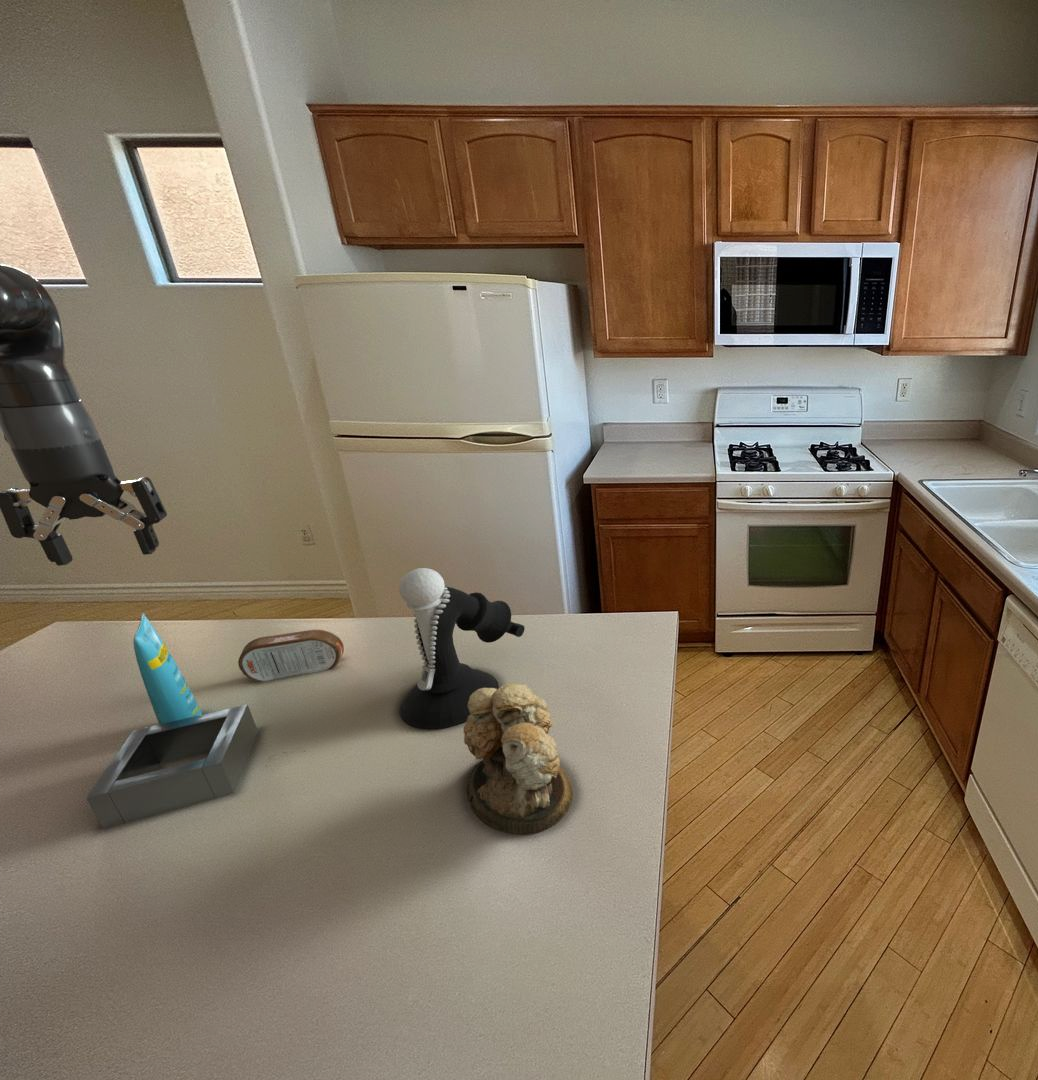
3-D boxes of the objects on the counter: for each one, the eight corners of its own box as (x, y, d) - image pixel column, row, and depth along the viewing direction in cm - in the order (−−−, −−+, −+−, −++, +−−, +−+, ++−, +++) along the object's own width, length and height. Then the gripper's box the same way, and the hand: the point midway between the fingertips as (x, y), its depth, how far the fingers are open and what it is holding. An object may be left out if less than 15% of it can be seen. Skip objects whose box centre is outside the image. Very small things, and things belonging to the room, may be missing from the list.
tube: (207, 734, 85) (159, 628, 78) (164, 750, 82) (110, 640, 75) (205, 710, 90) (160, 608, 83) (165, 724, 87) (114, 619, 80)
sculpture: (381, 712, 90) (342, 575, 81) (498, 643, 109) (478, 526, 100) (440, 746, 84) (406, 601, 74) (554, 666, 103) (539, 543, 93)
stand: (105, 833, 69) (85, 798, 67) (149, 762, 80) (132, 730, 78) (235, 797, 75) (220, 763, 72) (260, 735, 85) (247, 704, 83)
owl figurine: (440, 790, 76) (416, 689, 69) (513, 740, 85) (497, 646, 78) (523, 859, 67) (504, 750, 60) (595, 794, 76) (585, 693, 69)
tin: (349, 662, 103) (337, 623, 100) (345, 671, 100) (333, 632, 97) (251, 679, 98) (235, 639, 95) (244, 690, 95) (228, 649, 92)
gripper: (144, 430, 75) (186, 540, 81) (-7, 438, 69) (51, 556, 75) (118, 441, 69) (166, 559, 75) (-50, 451, 63) (17, 578, 69)
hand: (108, 557), depth 75 cm, fingers open, 8 cm apart
